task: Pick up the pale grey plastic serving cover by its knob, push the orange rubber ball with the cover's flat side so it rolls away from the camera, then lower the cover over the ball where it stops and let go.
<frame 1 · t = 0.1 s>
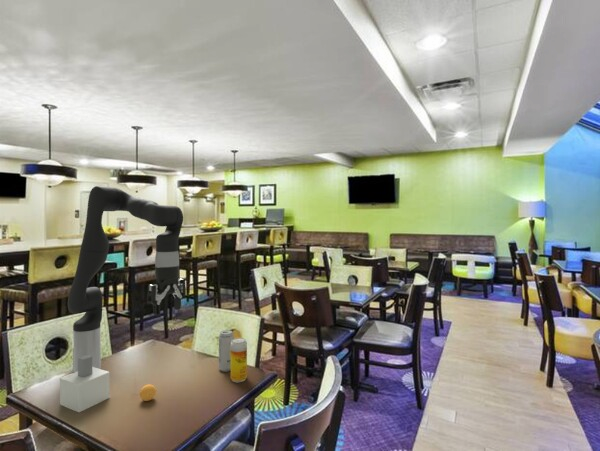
hand: (167, 312, 116), 29 cm above the table, tool pointing down, fingers open, 8 cm apart
energy drink can: (226, 369, 139), on the table
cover: (85, 401, 115), on the table
ball: (147, 392, 115), on the table
yellow white cylinder: (238, 379, 130), on the table
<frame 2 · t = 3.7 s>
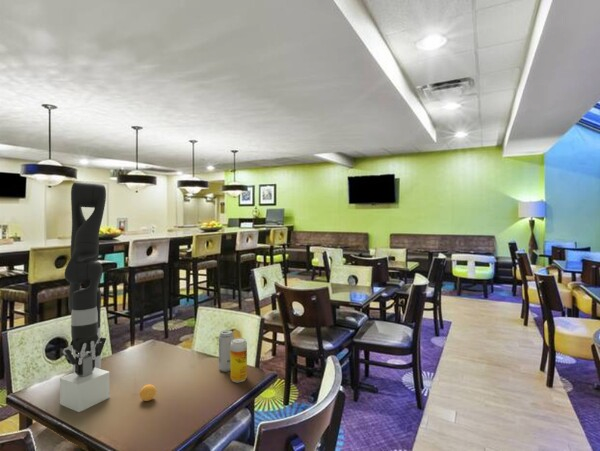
hand: (85, 372, 114), 10 cm above the table, tool pointing down, fingers closed on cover, 3 cm apart
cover: (85, 400, 115), on the table, touching gripper
everything else where it was.
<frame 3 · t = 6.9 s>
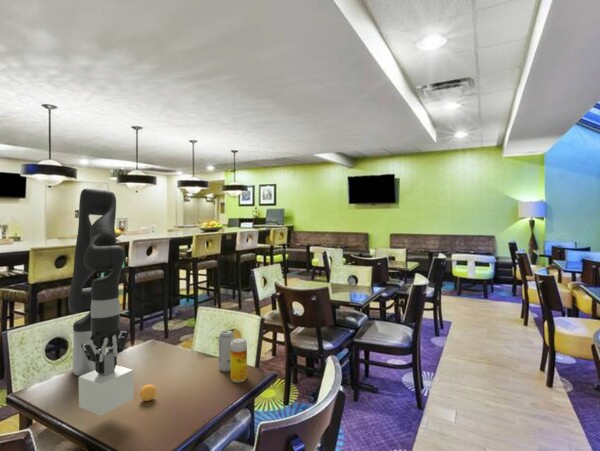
hand: (106, 370, 102), 16 cm above the table, tool pointing down, fingers closed on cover, 3 cm apart
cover: (106, 402, 102), point 6 cm above the table, touching gripper
everything else where it was.
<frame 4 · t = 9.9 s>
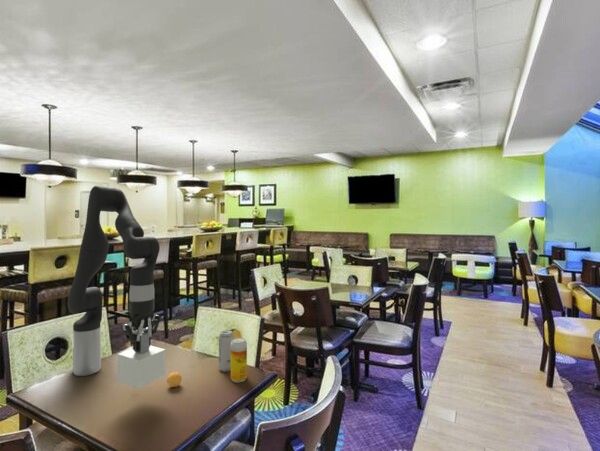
hand: (141, 349, 113), 18 cm above the table, tool pointing down, fingers closed on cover, 3 cm apart
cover: (141, 378, 113), point 8 cm above the table, touching gripper
ball: (174, 379, 125), on the table
everything else where it was.
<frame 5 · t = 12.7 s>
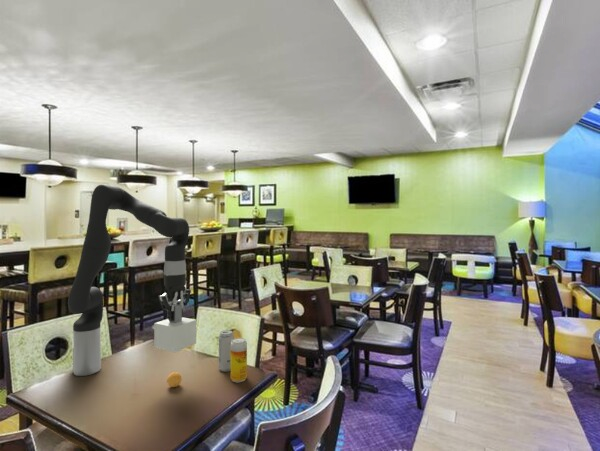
hand: (175, 319, 126), 24 cm above the table, tool pointing down, fingers closed on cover, 3 cm apart
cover: (175, 345, 126), point 15 cm above the table, touching gripper
everything else where it was.
when the fingers open (10 cm above the table, at t = 15.2 s): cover stays where it is, on the table.
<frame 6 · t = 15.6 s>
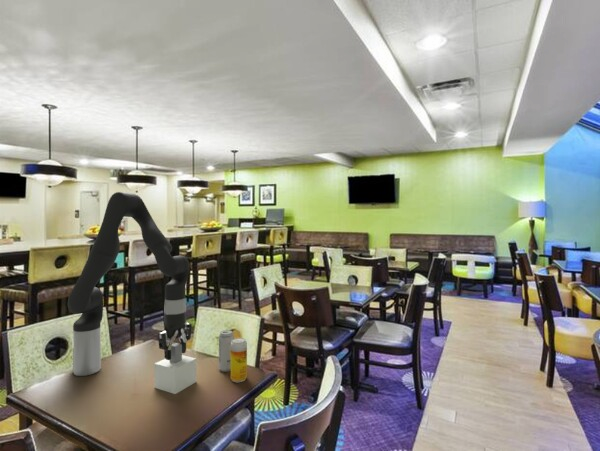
hand: (175, 355, 126), 11 cm above the table, tool pointing down, fingers open, 6 cm apart
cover: (175, 384, 126), on the table
everything else where it was.
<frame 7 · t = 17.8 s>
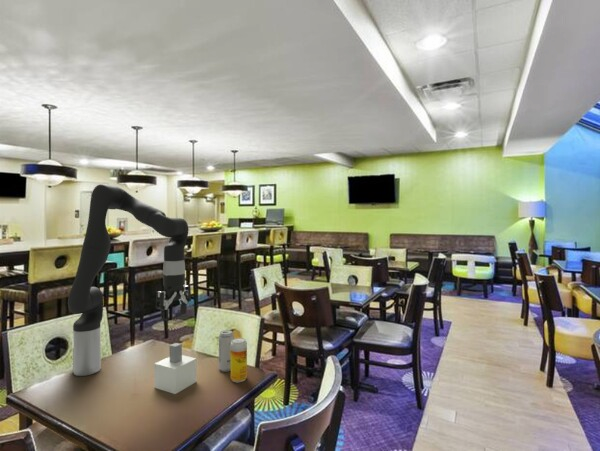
hand: (174, 316, 126), 25 cm above the table, tool pointing down, fingers open, 8 cm apart
nothing on the table moved.
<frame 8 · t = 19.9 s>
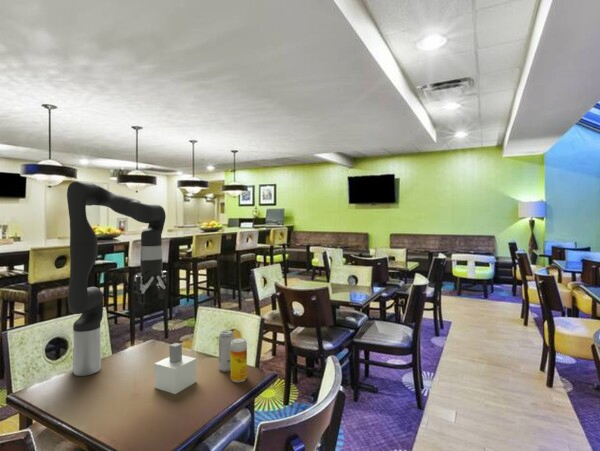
hand: (151, 301, 128), 30 cm above the table, tool pointing down, fingers open, 8 cm apart
nothing on the table moved.
at the end: ball 1.3 cm from the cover (horizontally); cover on the table; ball moved 10.8 cm from its start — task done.
